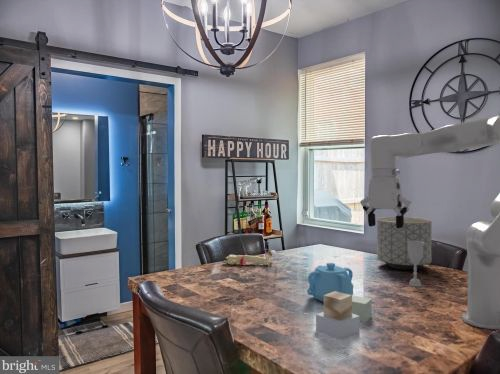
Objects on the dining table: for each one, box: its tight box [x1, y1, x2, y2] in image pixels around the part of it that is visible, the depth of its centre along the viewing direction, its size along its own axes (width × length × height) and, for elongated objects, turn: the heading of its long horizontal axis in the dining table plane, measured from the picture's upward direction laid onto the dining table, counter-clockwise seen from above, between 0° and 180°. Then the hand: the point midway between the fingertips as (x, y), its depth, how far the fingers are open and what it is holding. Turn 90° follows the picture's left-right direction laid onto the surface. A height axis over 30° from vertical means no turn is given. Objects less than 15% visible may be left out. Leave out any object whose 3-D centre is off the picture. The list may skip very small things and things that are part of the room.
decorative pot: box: [306, 262, 354, 302], centre depth 148 cm, size 16×16×14 cm
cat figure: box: [223, 250, 274, 267], centre depth 206 cm, size 10×9×25 cm
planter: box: [376, 216, 432, 271], centre depth 197 cm, size 25×25×24 cm
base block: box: [315, 311, 360, 340], centre depth 119 cm, size 9×9×5 cm
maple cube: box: [323, 291, 353, 320], centre depth 118 cm, size 6×6×6 cm
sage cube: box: [352, 295, 373, 323], centre depth 129 cm, size 6×6×6 cm
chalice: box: [407, 241, 424, 287], centre depth 166 cm, size 7×7×18 cm
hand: (385, 226), depth 129 cm, fingers open, 9 cm apart
